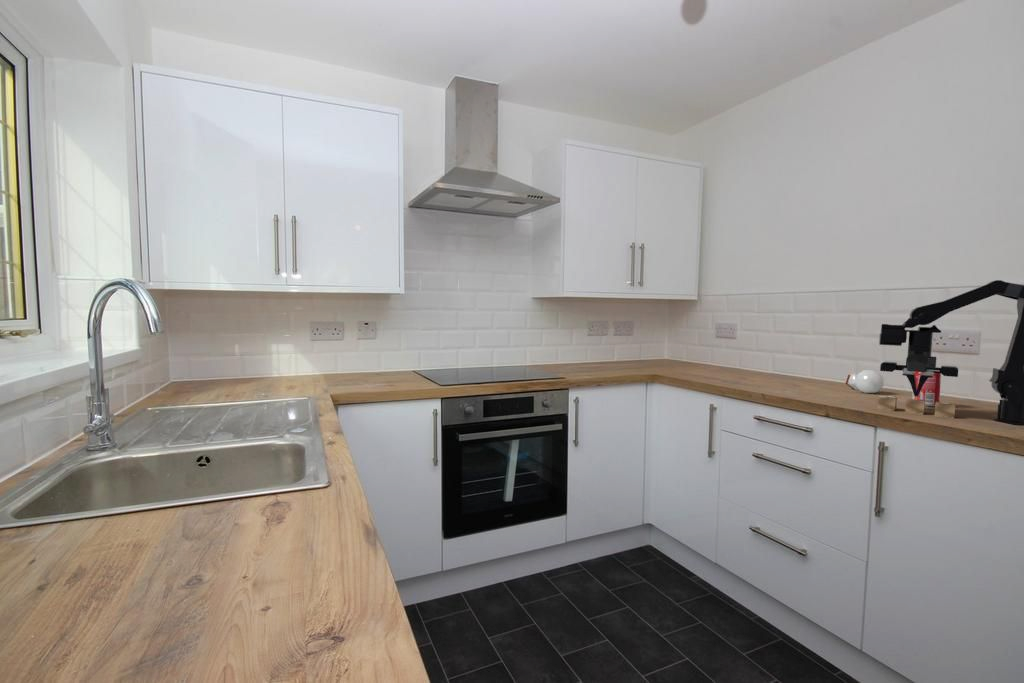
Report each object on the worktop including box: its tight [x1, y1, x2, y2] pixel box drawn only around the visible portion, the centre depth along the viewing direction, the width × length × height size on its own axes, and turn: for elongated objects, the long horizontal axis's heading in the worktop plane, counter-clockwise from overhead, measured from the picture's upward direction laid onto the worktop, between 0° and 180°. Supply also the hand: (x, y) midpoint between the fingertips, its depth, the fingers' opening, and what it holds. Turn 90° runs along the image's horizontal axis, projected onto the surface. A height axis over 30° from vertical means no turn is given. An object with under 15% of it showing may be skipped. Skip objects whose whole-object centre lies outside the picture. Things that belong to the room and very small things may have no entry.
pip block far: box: [877, 395, 898, 411], centre depth 161 cm, size 4×4×4 cm
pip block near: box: [934, 401, 956, 419], centre depth 152 cm, size 4×4×4 cm
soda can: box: [911, 372, 942, 406], centre depth 169 cm, size 7×7×13 cm
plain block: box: [904, 398, 926, 414], centre depth 156 cm, size 4×4×4 cm
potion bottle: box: [845, 369, 885, 394], centre depth 199 cm, size 9×10×15 cm
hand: (916, 396), depth 156 cm, fingers closed
